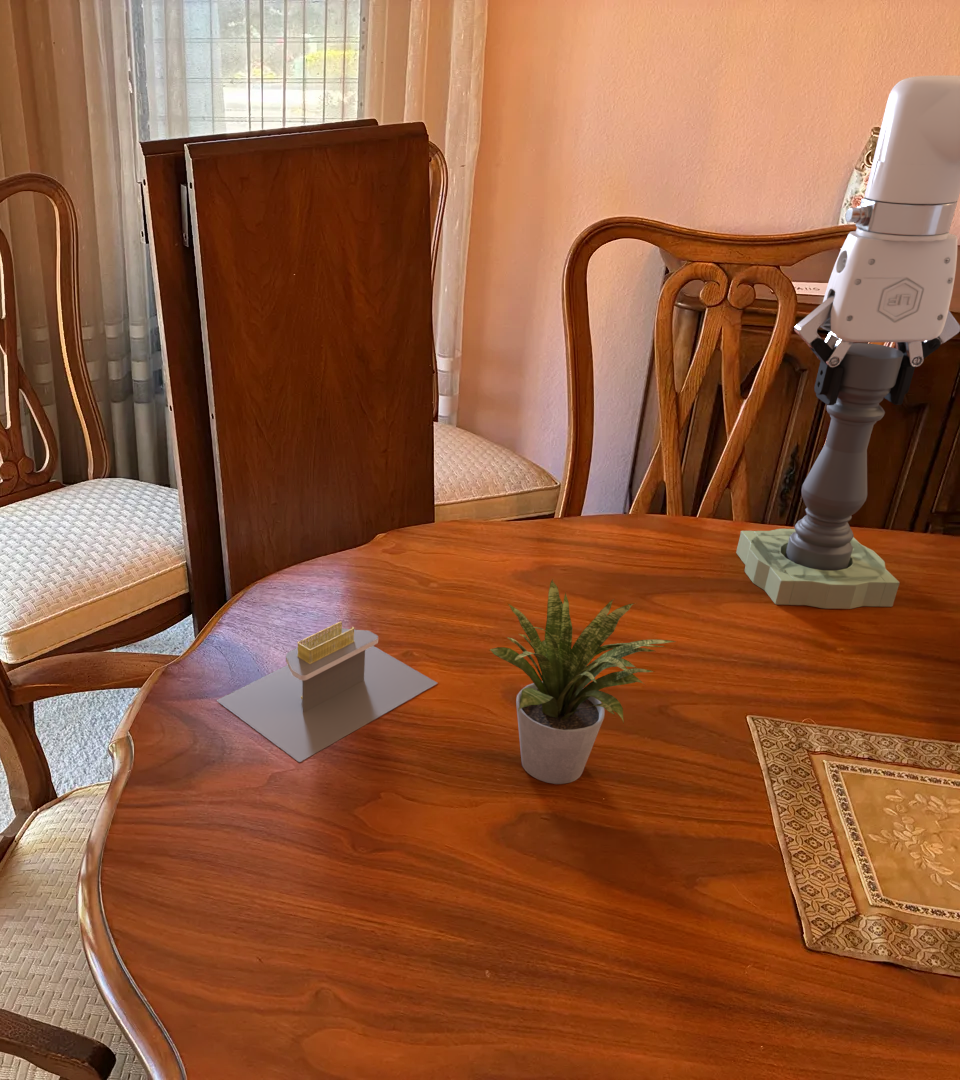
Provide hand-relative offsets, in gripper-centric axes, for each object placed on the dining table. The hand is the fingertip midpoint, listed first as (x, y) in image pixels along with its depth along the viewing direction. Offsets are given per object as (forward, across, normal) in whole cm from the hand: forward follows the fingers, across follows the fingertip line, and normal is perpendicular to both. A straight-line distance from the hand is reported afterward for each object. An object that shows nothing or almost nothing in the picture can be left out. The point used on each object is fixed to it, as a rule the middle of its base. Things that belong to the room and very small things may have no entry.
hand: (858, 399), depth 103 cm
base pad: (+21, 0, 0) cm, 21 cm away
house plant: (+21, -35, -35) cm, 54 cm away
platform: (+21, -54, -24) cm, 63 cm away
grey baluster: (+20, 0, 0) cm, 20 cm away
